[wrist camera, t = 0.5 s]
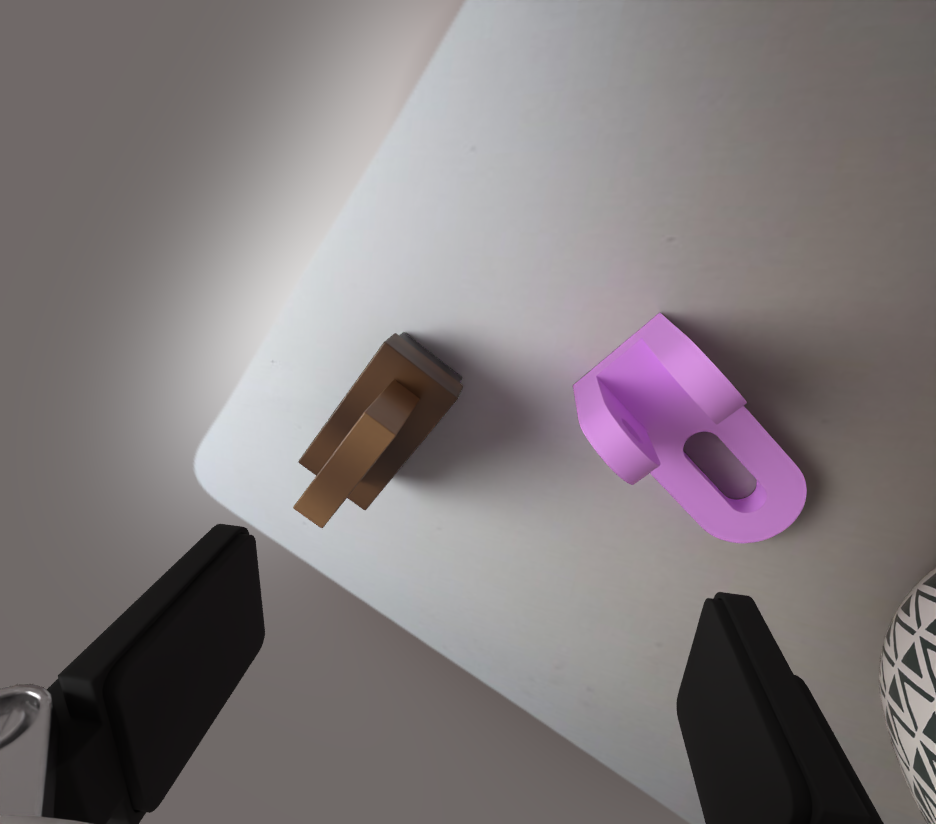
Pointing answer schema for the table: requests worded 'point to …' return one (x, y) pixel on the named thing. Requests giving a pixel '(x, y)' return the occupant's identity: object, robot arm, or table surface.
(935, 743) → the planter
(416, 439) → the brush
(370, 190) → the table surface
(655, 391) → the bracket
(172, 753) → the robot arm
